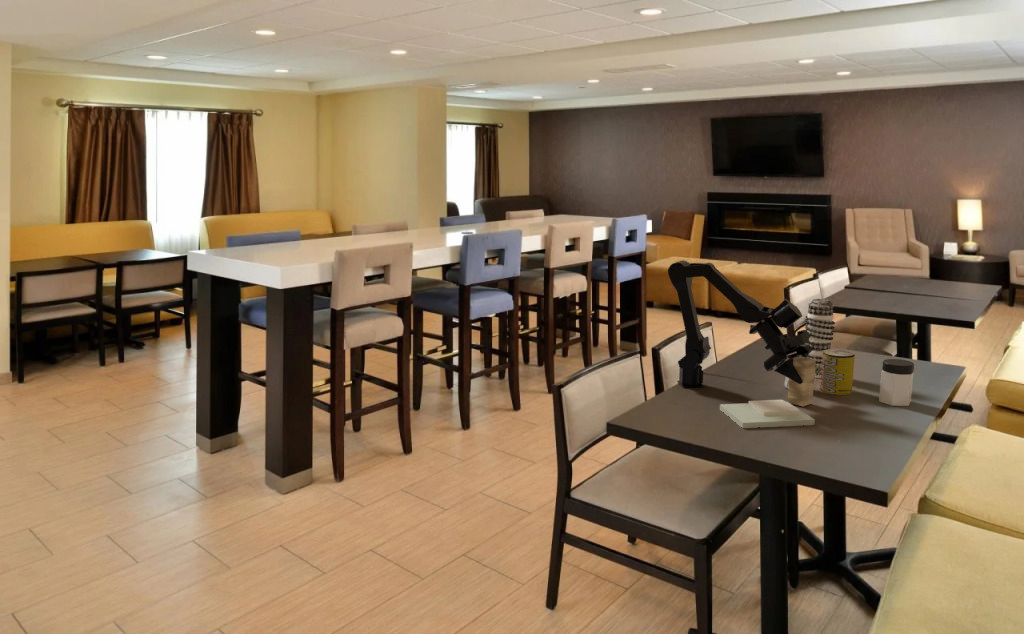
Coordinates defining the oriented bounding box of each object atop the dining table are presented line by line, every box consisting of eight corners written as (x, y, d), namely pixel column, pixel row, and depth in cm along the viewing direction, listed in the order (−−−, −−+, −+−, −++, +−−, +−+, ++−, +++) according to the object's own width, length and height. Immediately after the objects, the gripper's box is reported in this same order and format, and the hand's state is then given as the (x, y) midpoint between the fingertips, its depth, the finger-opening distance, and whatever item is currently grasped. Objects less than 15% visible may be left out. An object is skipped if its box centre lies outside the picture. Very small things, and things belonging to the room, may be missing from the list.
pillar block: (787, 402, 224) (790, 359, 222) (796, 399, 228) (799, 356, 225) (803, 406, 221) (807, 362, 218) (812, 403, 224) (816, 359, 221)
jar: (918, 404, 223) (922, 364, 221) (898, 408, 220) (902, 367, 217) (891, 396, 231) (894, 357, 229) (871, 399, 228) (875, 360, 225)
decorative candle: (795, 373, 256) (800, 299, 251) (813, 369, 261) (819, 296, 256) (818, 379, 248) (823, 303, 244) (837, 375, 253) (843, 300, 248)
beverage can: (823, 385, 243) (826, 347, 241) (854, 389, 238) (857, 351, 236) (816, 392, 236) (819, 353, 233) (848, 396, 231) (851, 357, 228)
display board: (742, 428, 204) (742, 419, 203) (719, 409, 219) (720, 401, 219) (814, 425, 206) (815, 416, 206) (786, 406, 222) (787, 398, 221)
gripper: (775, 326, 216) (810, 372, 210) (809, 317, 228) (842, 360, 222) (749, 348, 224) (781, 393, 218) (782, 338, 236) (814, 381, 230)
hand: (806, 381), depth 222 cm, fingers closed on pillar block, 5 cm apart
